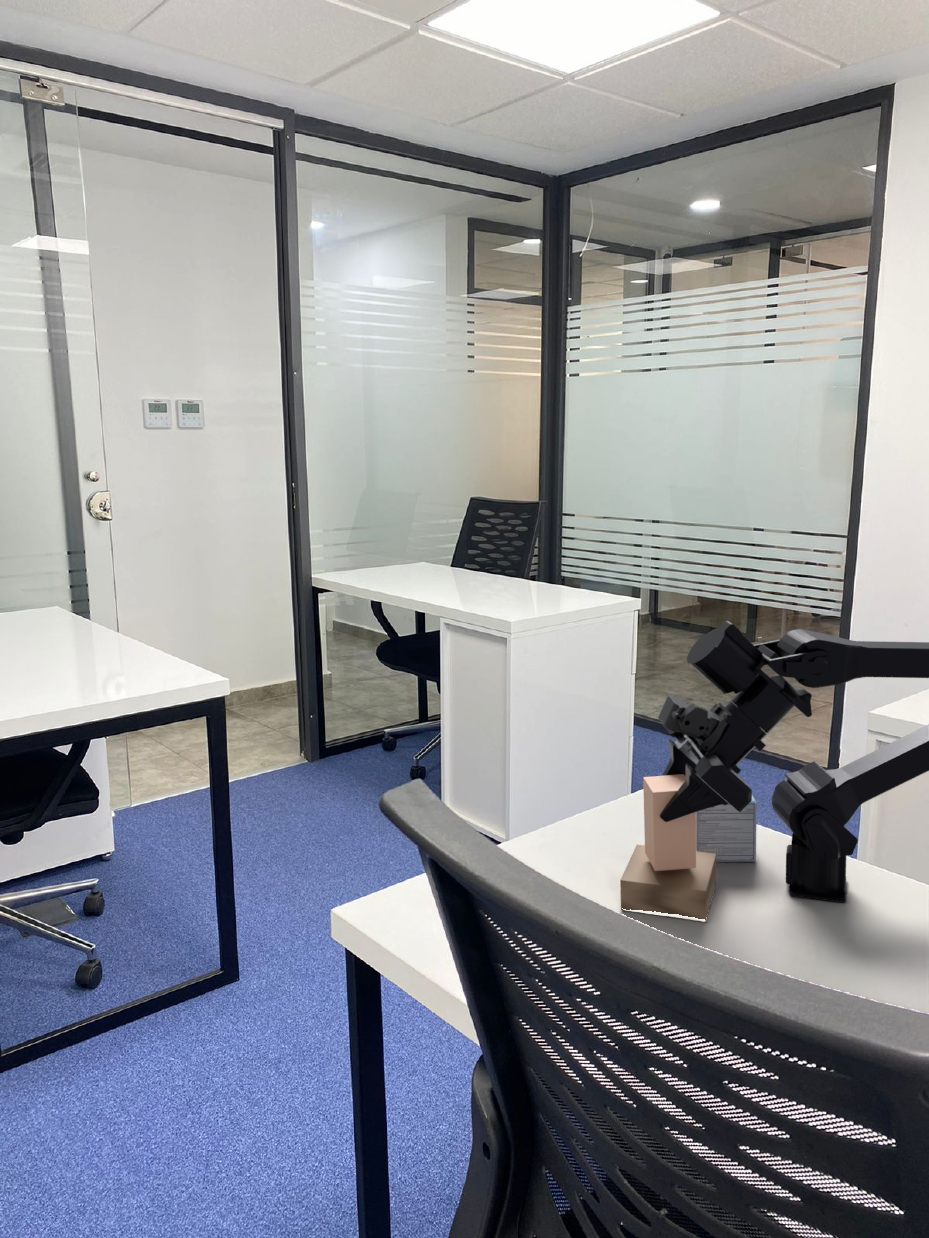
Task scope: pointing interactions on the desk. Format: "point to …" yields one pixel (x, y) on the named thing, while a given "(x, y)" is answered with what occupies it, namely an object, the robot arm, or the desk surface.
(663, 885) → the walnut base
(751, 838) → the medicine box
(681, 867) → the terracotta block
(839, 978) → the desk surface
